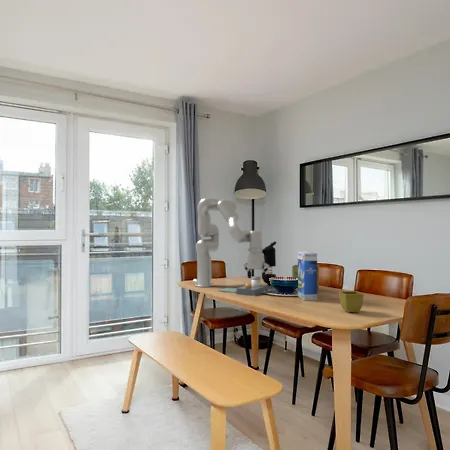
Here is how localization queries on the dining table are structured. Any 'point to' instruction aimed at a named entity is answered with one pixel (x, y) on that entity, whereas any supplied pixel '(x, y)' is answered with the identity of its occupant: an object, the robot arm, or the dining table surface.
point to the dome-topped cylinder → (255, 281)
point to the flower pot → (351, 300)
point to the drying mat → (229, 290)
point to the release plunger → (248, 285)
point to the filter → (269, 260)
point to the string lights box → (307, 275)
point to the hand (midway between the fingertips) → (256, 278)
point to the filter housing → (252, 290)
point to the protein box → (295, 274)
